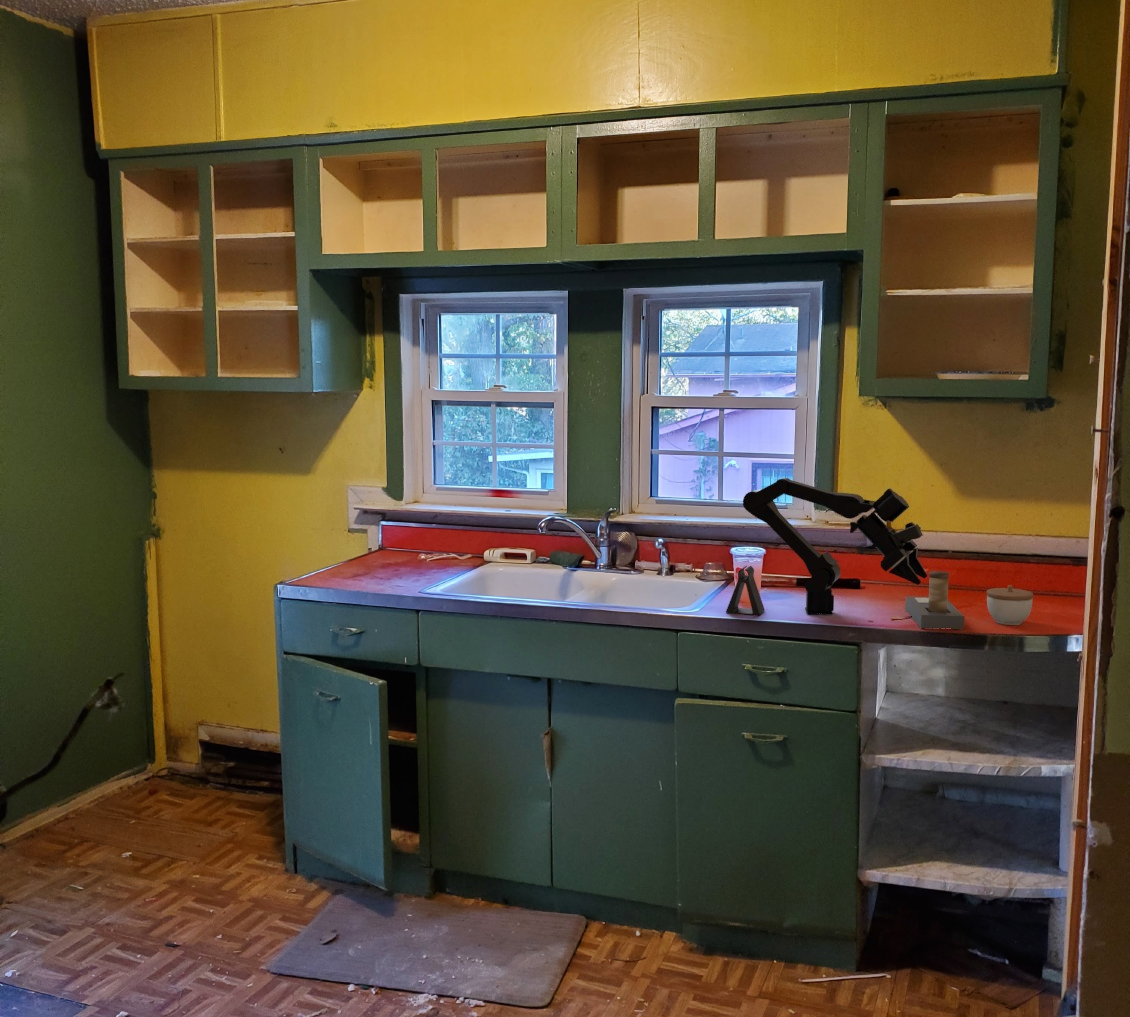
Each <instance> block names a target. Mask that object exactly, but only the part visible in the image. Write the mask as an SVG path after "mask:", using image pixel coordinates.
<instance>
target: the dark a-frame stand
mask: <svg viewBox="0 0 1130 1017" xmlns="http://www.w3.org/2000/svg"><path fill="white" fill-rule="evenodd" d="M745 572H746V573H747V574H746V573H745ZM754 574H755V569H754V567H753V566H752V565H750V566H748V565H745V566H743V567H742V568H740V570H738V571H737V582H736V585H735V587H734V590H733V592H732V595H731V597H730V600H729V603H728V604H727V607H726V610H725V613H726V614H728V615H729V614H731V615H732V614H733V615H741V614H742V615H743V614H744V616H754V615H755V616H757V617H759V616H760V615H762V614H763V613H764V612H765V610H766V609H765V606H764V603H763V601H762V598H761V595H760V592H759V589H758V586H757V583H756V580H755V577H754ZM745 585H746V590H747V594H748V598H749V603H750V607H751V608H748V607H747V608H745V607H743V608H742V607H739V606H740V605H739V604H740V602H741V597H742V594H743V591H744V587H745Z"/></svg>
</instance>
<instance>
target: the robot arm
mask: <svg viewBox="0 0 1130 1017" xmlns="http://www.w3.org/2000/svg"><path fill="white" fill-rule="evenodd" d="M783 495H786V496H788V497H793V498H796V499H799V500H801V501H806V502H810V503H812V504H816V505H819V506H822V507H825V508H827V509H828V510H830V511H832V512H833V513H835V514H837V515H839V516H841V517H844V518H846V519H850V520H851V519H855V518H857V517H859V516H860V515H861V516H860V517H859V518H858V519H857V520H856V521H850V522H849V525H850V529H849V533H850V534H853V533H855V532H856V531H857V530H858V531H859V532H860V533H862V534H863V536H864V537H865V538H866V540H868V541H869V542H870V543H871V544H872V545H871V547H872V548H873V549H874V550H875V549H877V550H878V552H879V553H880V554H882V556H883V557H882V560H881V561H880V568H881V569H882V570H883V571H884V572H885V573H887V572H888V573H889V574H892V575H895V576H897V577H899V578H901V579H904V580H906V581H909V582H911V583H913V584H914V585H917V586H918V585H921V583H922V581H921V580H920V578H919V577H921V578H922V579H926V578H928V574H927V572H926V571H925V568H924V567H923V565H922V564H921V562H920V560H919V558H918V551H919V548H918V544H917V543H916V542H915V541H914V540H917V539H920V538H922V537H923V536H924V534H923V532H922V530H921V529H922V527H921V526H919V524H918V523H916V524H915V523H914V522H912V521H910V522H907V523H906V524H905V526H904V529H901V530H899V531H897V530H895V528H889V527H888V526H887V524H886V523H887V522H891V523H893V522H895V520H896V519H898V518H899V517H900V516H901V515H902V514H903V513H905V511H907V510H909V508H910V505H909V503H908V502H907V500H906V499H905V498H904V497H903V496H902V495H899V494H898V493H897V492H895V490H893V489H892V488H890V487H889V488H887V489H886V490H885V491H884V493H883V494H882V495H881V496H880V497H879V498H878V499H877V500H869V499H864V497H862V495H860V494H856V493H849V492H837V491H836V492H834V491H830V490H826V489H822V488H820V487H816V486H813V485H810V484H805V483H802V482H799V481H795V480H793V479H791V478H788V477H783V478H779V479H777V480H776V481H775V482H773V483H771V484H770V485H768V486H765V487H763V488H761V489H758V488H757V489H755V490H752V491H751V490H750V491H749V492H747V493H745V495H744V496H743V499H742V507H743V508H744V509H745V511H747V512H748V513H749V514H750V515H752V516H753V517H755V518H757V519H758V520H760V521H763V522H764V523H766V524H767V525H768V526H769V527H770V528H771V530H773V531H774V532H775V534H777V535H778V536H779V537H780V539H781V540H782V541H783V542H785V544H786V545H787V546H788V547H789V548H790V549H791V551H793V552H794V553H795V554H796V555H797V556H798V558H800V559H801V560H802V562H803V563H804V565H805V566H806V570H807V571H808V573H809V575H810V578H808V580H806V581H805V582H804V584H803V585H804V588H805V607H804V611H805V613H806V614H807V615H830V616H831V615H833V612H834V610H835V609H834V607H835V603H834V602H835V596H834V594H833V593H832V592H833V590H832V586H833V584H834V583H835V582H836V581H837V580H838V579H839V578H840V577H841V574H842V573H841V572H842V571H841V567H840V565H839V561H838V560H837V559H835V558H834V557H833V556H832V555H831V553H830V552H829V551H828V550H826V551H824V552H823V553H822V552H820V551H818V550H817V549H815V547H814V546H812V544H811V543H810V542H809V541H808V540H807V539H806V538H805V537H804V536H803V535H802V534H801V533H800V532H799V531H798V530H797V529H796V528H795V527H794V526H793V525H792V523H790V522H789V521H788V520H787V518H785V516H783V514H781V513H780V510H779V509H778V507H777V505H776V502H775V500H776V499H779V497H781V496H783ZM872 510H873V511H872ZM870 511H872V512H871V513H870V514H868V515H866V514H864V513H868V512H870ZM862 514H863V515H862ZM883 521H884V522H883ZM916 547H917V548H916Z"/></svg>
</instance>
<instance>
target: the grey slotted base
mask: <svg viewBox="0 0 1130 1017" xmlns="http://www.w3.org/2000/svg"><path fill="white" fill-rule="evenodd" d="M928 605H929V596H905V605H904V609H906V610H905V611H906V613H907V612H908V613H909V614H910V615H911V616H912V617H911V616H910V615H909V614H908V613H907V614H908V615H909V616H910V617H911V618H913V619H914V620H915V621H914V620H913V619H912V620H913V621H914V622H915V623H917V624H918V625H919V626H918V625H917V624H916V625H917V626H918V627H919V629H920V628H932V629H931V630H934V629H933V628H939V629H941V628H945V629H946V628H951V629H964V626H965V615H964V614H963V613H961V612H960V611H959V609H958V608H956V607H955V606H954V605H953V604H952V603H951V602H950V601H949V600H948V599H947V613H938V612H928ZM939 629H938V630H939ZM964 630H965V629H964Z"/></svg>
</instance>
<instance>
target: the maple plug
mask: <svg viewBox="0 0 1130 1017" xmlns="http://www.w3.org/2000/svg"><path fill="white" fill-rule="evenodd" d="M928 576H929V580H928V581H929V584H928V597H929V605H928V612H938V613H947V600H948V594H949V578H950V572H948V571H942V570H932V571H929V572H928Z"/></svg>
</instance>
